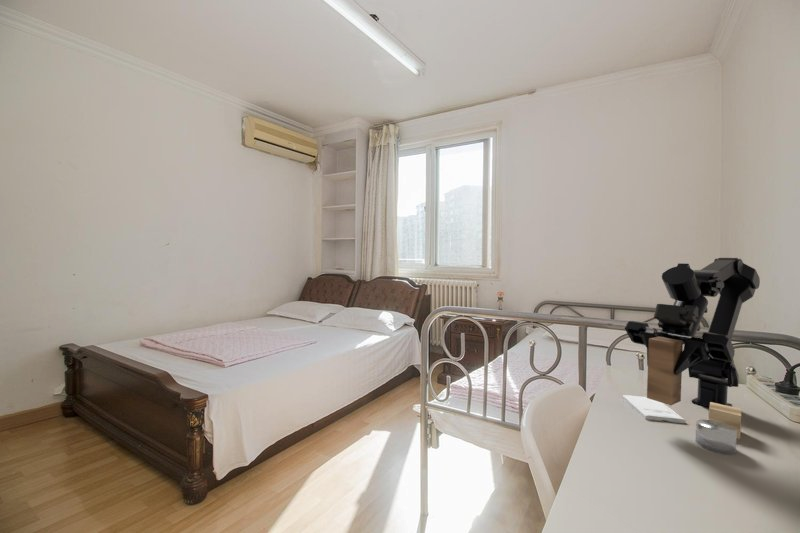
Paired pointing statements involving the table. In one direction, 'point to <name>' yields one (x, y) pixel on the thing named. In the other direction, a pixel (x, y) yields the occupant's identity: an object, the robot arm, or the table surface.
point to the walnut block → (664, 370)
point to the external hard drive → (653, 409)
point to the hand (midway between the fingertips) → (661, 370)
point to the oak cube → (726, 416)
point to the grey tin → (716, 437)
